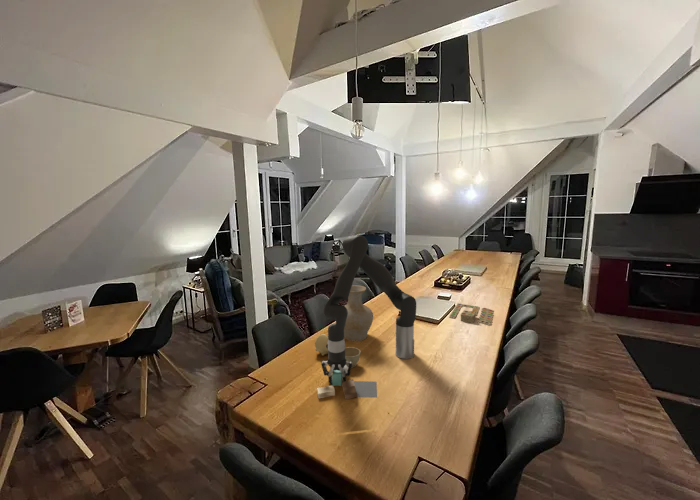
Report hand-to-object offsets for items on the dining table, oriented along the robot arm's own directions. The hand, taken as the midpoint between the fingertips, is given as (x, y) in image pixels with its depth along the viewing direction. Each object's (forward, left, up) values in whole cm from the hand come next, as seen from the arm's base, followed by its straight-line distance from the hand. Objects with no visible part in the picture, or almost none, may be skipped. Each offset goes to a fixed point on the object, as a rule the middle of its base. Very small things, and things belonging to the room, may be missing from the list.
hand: (337, 383), depth 134 cm
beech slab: (+4, +8, -1) cm, 9 cm away
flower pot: (-5, -16, -1) cm, 17 cm away
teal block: (0, 0, -1) cm, 1 cm away
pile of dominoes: (-88, -86, -1) cm, 124 cm away
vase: (-6, -49, -1) cm, 49 cm away
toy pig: (+9, -27, -1) cm, 28 cm away
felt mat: (-12, +4, 0) cm, 13 cm away
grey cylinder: (-2, -7, 0) cm, 7 cm away
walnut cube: (-6, +8, 0) cm, 10 cm away
